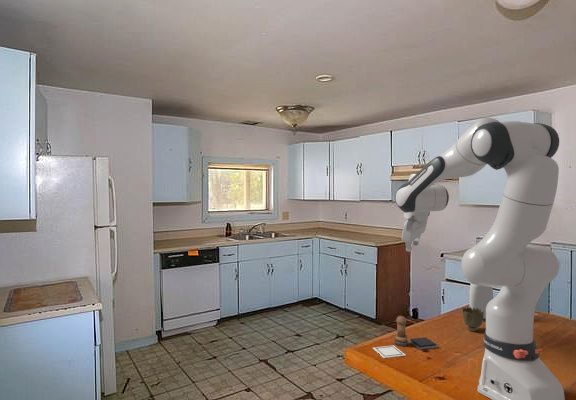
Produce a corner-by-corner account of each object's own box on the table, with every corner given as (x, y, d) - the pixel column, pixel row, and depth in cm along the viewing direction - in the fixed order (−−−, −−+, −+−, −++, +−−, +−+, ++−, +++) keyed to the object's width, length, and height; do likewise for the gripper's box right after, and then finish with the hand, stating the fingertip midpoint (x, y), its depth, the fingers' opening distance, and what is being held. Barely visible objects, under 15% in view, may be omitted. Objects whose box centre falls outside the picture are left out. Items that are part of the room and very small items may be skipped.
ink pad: (438, 347, 128) (438, 344, 128) (419, 349, 126) (419, 346, 126) (426, 339, 135) (426, 336, 135) (408, 341, 133) (408, 338, 133)
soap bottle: (482, 324, 151) (482, 257, 150) (463, 318, 157) (464, 254, 157) (501, 317, 158) (502, 254, 158) (483, 312, 165) (483, 251, 165)
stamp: (410, 345, 130) (410, 317, 130) (398, 347, 129) (398, 318, 129) (403, 340, 134) (403, 313, 134) (392, 342, 133) (392, 314, 133)
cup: (487, 333, 140) (487, 312, 140) (467, 333, 140) (467, 312, 140) (477, 326, 148) (477, 306, 147) (459, 326, 148) (459, 306, 148)
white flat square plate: (406, 355, 122) (406, 354, 122) (383, 358, 120) (383, 357, 120) (393, 345, 130) (393, 345, 130) (372, 348, 128) (372, 347, 128)
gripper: (416, 220, 133) (412, 257, 136) (431, 210, 150) (427, 243, 153) (399, 217, 137) (395, 253, 140) (415, 208, 153) (411, 240, 156)
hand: (412, 247), depth 146 cm, fingers open, 8 cm apart
